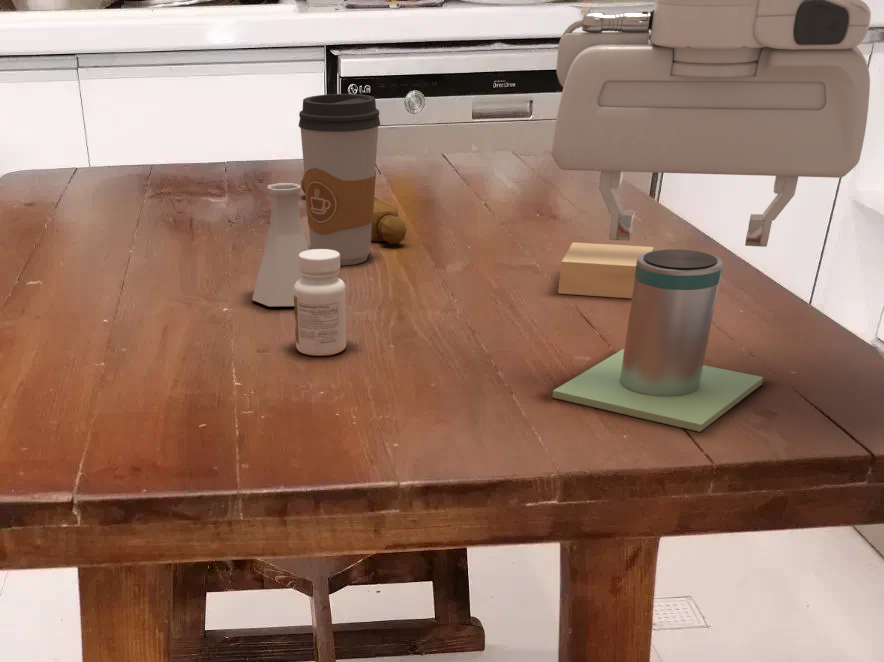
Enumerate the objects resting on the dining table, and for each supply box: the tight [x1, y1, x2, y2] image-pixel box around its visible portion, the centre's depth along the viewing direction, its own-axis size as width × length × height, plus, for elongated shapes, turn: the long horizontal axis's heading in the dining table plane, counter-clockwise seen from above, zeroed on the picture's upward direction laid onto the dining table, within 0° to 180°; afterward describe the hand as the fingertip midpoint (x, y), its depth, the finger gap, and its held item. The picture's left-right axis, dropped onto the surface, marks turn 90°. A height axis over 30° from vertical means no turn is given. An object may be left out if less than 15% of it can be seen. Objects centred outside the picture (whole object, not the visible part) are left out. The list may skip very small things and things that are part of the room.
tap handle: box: [300, 175, 407, 245], centre depth 132 cm, size 3×3×30 cm
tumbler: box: [620, 249, 724, 396], centre depth 82 cm, size 9×6×6 cm
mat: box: [551, 348, 764, 433], centre depth 85 cm, size 12×12×1 cm
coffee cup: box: [298, 93, 381, 266], centre depth 114 cm, size 8×8×15 cm
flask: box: [252, 182, 310, 307], centre depth 104 cm, size 7×7×10 cm
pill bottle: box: [293, 249, 347, 357], centre depth 93 cm, size 4×4×8 cm
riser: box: [557, 241, 655, 300], centre depth 108 cm, size 8×8×3 cm
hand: (686, 241), depth 79 cm, fingers open, 8 cm apart
